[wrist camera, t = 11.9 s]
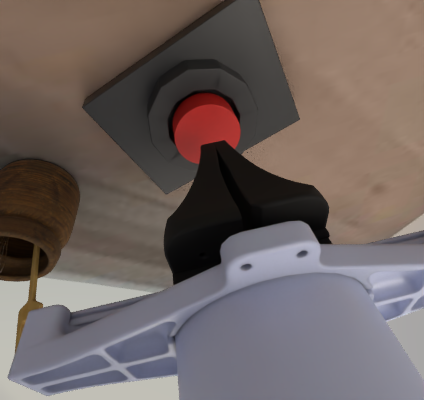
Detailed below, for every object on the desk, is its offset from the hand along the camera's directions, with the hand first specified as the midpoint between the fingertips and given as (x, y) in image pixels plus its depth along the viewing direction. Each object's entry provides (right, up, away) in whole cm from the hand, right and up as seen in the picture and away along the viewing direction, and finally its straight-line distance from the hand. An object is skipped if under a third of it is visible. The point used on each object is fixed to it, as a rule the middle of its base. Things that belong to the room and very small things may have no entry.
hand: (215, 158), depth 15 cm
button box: (-1, +5, +5) cm, 7 cm away
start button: (-1, +3, +3) cm, 4 cm away
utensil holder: (-14, -1, +7) cm, 16 cm away
